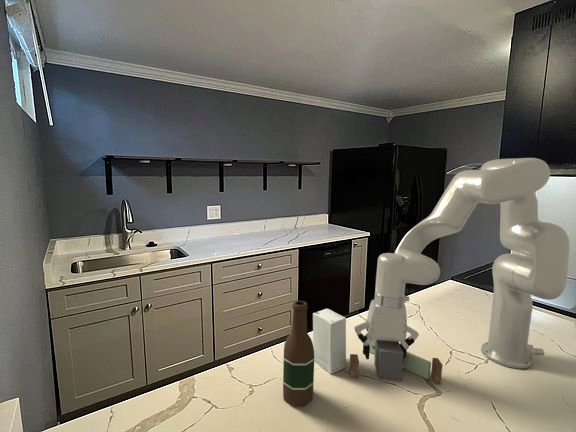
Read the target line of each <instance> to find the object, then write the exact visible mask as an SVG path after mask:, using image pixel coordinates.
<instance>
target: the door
mask: <svg viewBox="0 0 576 432" xmlns="http://www.w3.org/2000/svg"><path fill="white" fill-rule="evenodd" d="M375 343H376V340H372V341H371V342H370V343H369V345H370V352H369V353H370V354H371V353H372V354H373V355H375ZM402 369H405V370H407V371H409V372H411V373H414V374H416V375H418V376H419V377H422V378H424V379H426V380H429V379H430V378H431V369H432V362H431V361H430V360H427V359H425V358H423V357H420V356H418V355H416V354H413V353H411V352H409V351H407V353H406V358H404V363H403V367H402Z"/></svg>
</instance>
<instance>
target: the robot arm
mask: <svg viewBox="0 0 576 432" xmlns="http://www.w3.org/2000/svg"><path fill="white" fill-rule="evenodd" d="M550 176H551V169H550V166H549V165H548V164H547V162H546V161H545V160H542V159H540V158H536V157H522V158H521V157H520V158H519V157H518V158H500V159H492V160H488V161H486V162H484V163H483V164H482V165H481V166H480V169H469V170H468V169H467V170H462V171H460V172H457V173H456V174H455V175H454V176H453V178H452V179H451V181H449V184H448V186H447V187H446V189H445V190H444V192H443V193H442V195H441V197H440V198H439V200H438V201H437V204H436V205H435V207H434V208H433V210H432V211H431V213H430V214H429V215H428V216H427V217H426V218H424V219H423V220H421V221H420V222H419V223H417V224H416V225H414V226H413V227H412V228H411V229H409V231H408V232H407V233H406V234H405V235H404V237H402V239H401V241H400V243H399V244H398V246H397V248H396V249H395V250H394V253H393V252H385V253H381V254H380V255H379V256H378V257H377V264H376V266H377V267H376V275H375V286H374V287H375V291H374V298H373V299H372V300H370V304H369V307H368V308H369V309H368V313H367V319H366V321H365V322H363V323H360V324H358V325H355V326H354V328H353V329H354V331H355V334H356V336H357V337H358V339H359V340H360V341H361V342H362V355H364V357H365V360H369V359H370V353H371V352H370V345H369V343H370V342H371V341H372V340H381V341H393V342H399V344H400V346H401V348H402V351H403V353H404V354H403V363H404V358H406V353H407V352H408V351H407V350H408V349H409V348H410V347H411V345H413V344H414V343H415V341H416V340H417V338H418V337H419V335H420V334H419V332H418V331H417V330H416V329H414V328H412V327H411V326H409V325H408V324H407V323H408V322H407V321H408V320H407V317H408V316H407V308H406V305H405V303H406V302H409V301H410V296H408V295H405V292H406V291H405V290H406V284H415V285H420V286H426V285H427V286H428V285H431V284H433V283H436V282H437V280H438V279H439V278H440V275H441V268H440V265H439V263H437V262H436V261H435V259H432V258H431V257H428V256H427V255H424V254H422V252H423V250H424V249H425V248H426V247H427V245H429V244H430V243H432V242H433V241H435V240H437V239H440V238H443V237H446V236H450V235H453V234H457V233H459V232H460V231H462V230H463V228H464V226H465V224H466V223H467V222H468V219H469V218H470V216H471V215H472V213H473V212H474V210H475V208H476V207H477V205H478V204H487V205H496V204H500V215H499V216H500V217H499V219H500V222H499V239H500V240H499V241H500V243H501V245H502V246H503V247H504V248H506V249H507V250H510V251H513V252H517V253H520V254H517V253H503V254H500V255H499V256H498V257H496V258H495V260H494V262H493V264H492V270H491V273H492V278H493V279H492V280H493V294H492V295H493V298H492V304H491V313H490V315H491V316H490V321H489V322H490V324H489V329H488V330H489V332H488V338H487V339H488V340H487V342H484V343H482V344H481V352H482V354H483V355H484V356H485V357H486V358H488V360H491V361H492V362H494V363H496V364H499V365H501V366H505V367H508V368H512V369H519V370H520V369H528V368H530V367H531V366H532V364H533V358H532V357H533V355H534V356H545V350H544V349H543V348H539V347H534V345H533V344H528V343H529V334H530V328H531V321H532V315H533V314H532V313H533V307H534V306H533V299H532V296H533V297H536V298H539V299H541V300H547V301H548V300H549V301H550V300H555V299H558V298H559V297H560V296H561V295H562V294H563V293H564V292H565V289H566V286H567V282H568V281H567V280H568V274H569V273H568V271H569V259H570V238H569V236H568V234H567V232H566V231H565V230H564V229H563V227H562V226H560V225H558V224H555V223H552V222H551V223H550V222H545V221H540V220H539V213H538V210H539V209H538V208H539V203H538V202H539V201H538V198H537V197H538V196H537V195H536V192H538V191H539V190H541V189H542V188H543V187H544V186H545V185H547V183H548V182H549V179H550ZM521 254H524V255H521ZM525 255H526V256H525ZM528 256H530V257H528ZM531 257H532V258H531ZM364 330H366V333H365V335H364V334H363V333H362V331H364ZM407 333H409V334H410V335H409V336H408V337H407Z"/></svg>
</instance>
